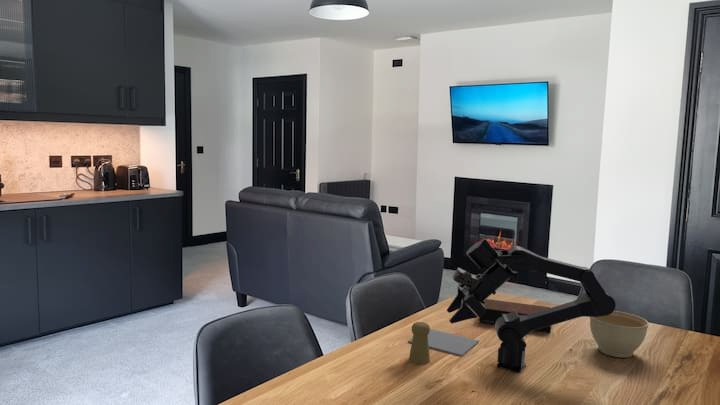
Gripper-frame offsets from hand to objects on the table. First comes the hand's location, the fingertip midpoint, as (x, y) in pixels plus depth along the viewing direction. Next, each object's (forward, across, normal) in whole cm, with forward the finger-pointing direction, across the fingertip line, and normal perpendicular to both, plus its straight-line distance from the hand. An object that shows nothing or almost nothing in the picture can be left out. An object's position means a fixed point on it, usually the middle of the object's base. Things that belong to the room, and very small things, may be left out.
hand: (449, 316), depth 149 cm
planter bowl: (-28, -15, +47) cm, 56 cm away
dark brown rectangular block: (-9, -38, +29) cm, 48 cm away
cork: (+15, 0, +4) cm, 16 cm away
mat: (+9, -15, +10) cm, 20 cm away
